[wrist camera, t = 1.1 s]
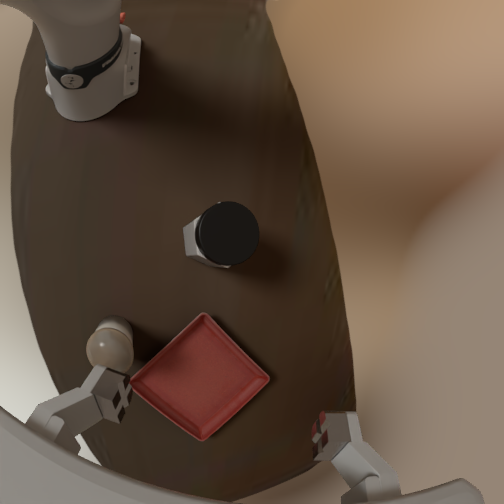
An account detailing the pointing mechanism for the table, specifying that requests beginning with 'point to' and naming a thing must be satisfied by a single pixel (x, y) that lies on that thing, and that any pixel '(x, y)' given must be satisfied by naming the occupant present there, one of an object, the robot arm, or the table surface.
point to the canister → (112, 344)
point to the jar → (222, 235)
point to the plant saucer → (199, 378)
